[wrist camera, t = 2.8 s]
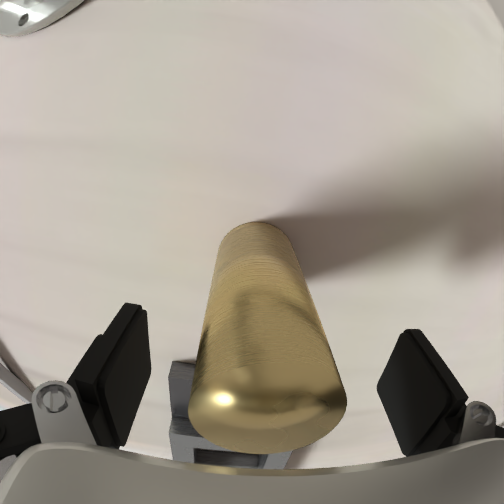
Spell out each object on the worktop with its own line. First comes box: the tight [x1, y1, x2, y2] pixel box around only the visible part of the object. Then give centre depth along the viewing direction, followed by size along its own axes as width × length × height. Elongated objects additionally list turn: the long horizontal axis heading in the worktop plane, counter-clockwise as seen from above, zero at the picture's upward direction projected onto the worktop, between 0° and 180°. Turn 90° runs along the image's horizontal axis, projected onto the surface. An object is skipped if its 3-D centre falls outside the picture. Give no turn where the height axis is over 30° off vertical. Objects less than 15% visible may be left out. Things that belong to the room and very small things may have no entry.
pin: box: [188, 222, 347, 454], centre depth 11 cm, size 4×4×10 cm
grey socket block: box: [168, 361, 293, 469], centre depth 21 cm, size 18×9×3 cm, turn 173°
